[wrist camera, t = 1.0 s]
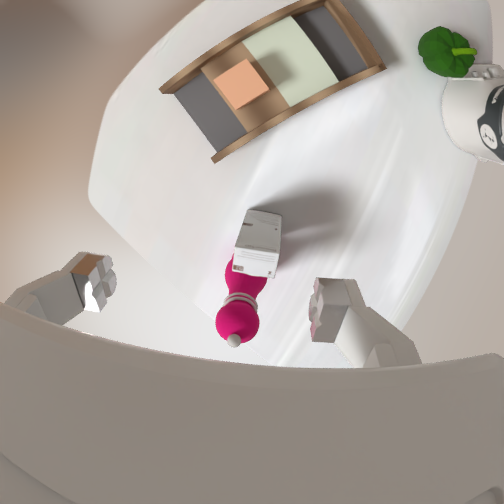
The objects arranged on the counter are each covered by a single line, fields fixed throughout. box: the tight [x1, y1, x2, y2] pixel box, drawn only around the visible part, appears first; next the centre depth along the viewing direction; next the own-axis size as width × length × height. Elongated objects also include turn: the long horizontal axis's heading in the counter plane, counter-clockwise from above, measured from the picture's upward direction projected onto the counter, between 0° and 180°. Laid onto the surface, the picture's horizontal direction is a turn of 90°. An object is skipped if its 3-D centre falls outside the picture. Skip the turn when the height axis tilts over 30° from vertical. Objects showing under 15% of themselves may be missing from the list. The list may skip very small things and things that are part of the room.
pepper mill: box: [216, 254, 267, 347], centre depth 42 cm, size 7×7×20 cm
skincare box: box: [232, 210, 282, 279], centre depth 41 cm, size 6×4×12 cm
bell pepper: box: [418, 26, 477, 78], centre depth 23 cm, size 8×8×10 cm
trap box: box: [159, 0, 387, 163], centre depth 31 cm, size 28×14×5 cm, turn 124°
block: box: [213, 59, 270, 110], centre depth 30 cm, size 5×5×4 cm
